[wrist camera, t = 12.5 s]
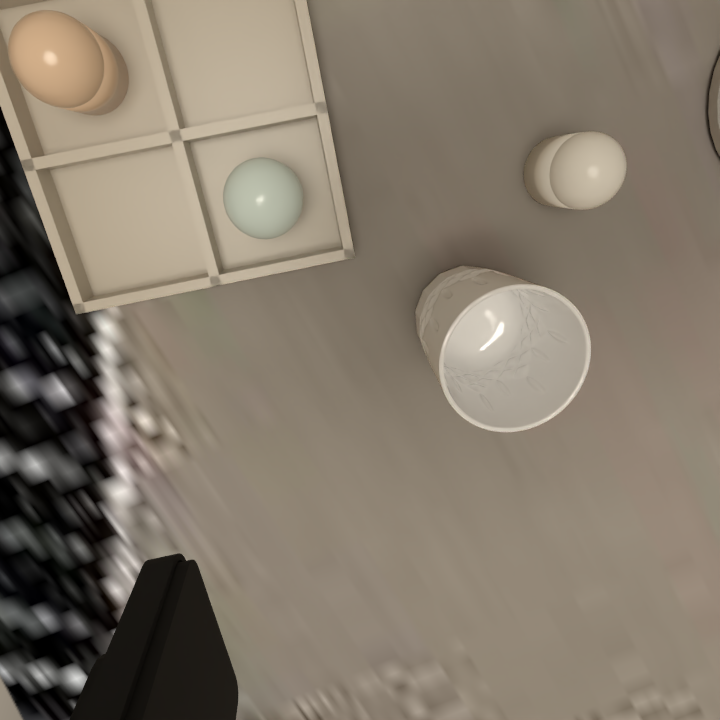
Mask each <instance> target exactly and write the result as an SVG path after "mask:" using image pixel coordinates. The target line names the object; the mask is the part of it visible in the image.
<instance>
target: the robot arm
mask: <svg viewBox="0 0 720 720" xmlns="http://www.w3.org/2000/svg"><path fill="white" fill-rule="evenodd" d="M708 115H709V123H710V131H711V135H712V138H713V141H714V145H715V148H716V150H717V152H718V154H719V156H720V56H719V59H718V61H717V64H716V67H715V69H714V73H713V78H712V82H711V87H710V91H709V108H708ZM237 706H238V685H237V680H236V676H235V673H234V670H233V667H232V664H231V661H230V658H229V655H228V652H227V650H226V647H225V644H224V641H223V638H222V635H221V632H220V629H219V626H218V623H217V620H216V617H215V614H214V612H213V609H212V606H211V603H210V600H209V597H208V594H207V591H206V588H205V585H204V582H203V579H202V576H201V574H200V571H199V568H198V565H197V563H196V562H195V560H188V561H186V560H185V558H184V556H183V555H182V554H180V553H179V554H174V555H169V556H165V557H160V558H155V559H151V560H147V561H146V562H145V563H144V564H143V566H142V569H141V571H140V573H139V576H138V578H137V580H136V583H135V585H134V588H133V590H132V592H131V595H130V597H129V600H128V602H127V604H126V607H125V609H124V612H123V614H122V616H121V619H120V621H119V623H118V626H117V628H116V631H115V633H114V635H113V638H112V640H111V643H110V645H109V647H108V650H107V652H106V654H103V655H102V656H101V657H99V658H98V659H97V660H96V662H95V664H94V666H93V667H92V669H91V672H90V674H89V676H88V678H87V681H86V683H85V685H84V688H83V690H82V692H81V695H80V697H79V699H78V701H77V704H76V706H75V708H74V711H73V713H72V715H71V718H70V720H236V713H237Z"/></svg>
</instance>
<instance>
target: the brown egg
mask: <svg viewBox="0 0 720 720" xmlns="http://www.w3.org/2000/svg"><path fill="white" fill-rule="evenodd" d="M8 56H9V61H10V64H11V67H12V70H13V72H14V74H15V76H16V77H17V79H18V80H19V82H20V83H21V85H22V86H23V87H24V88H25V89H26V90H27V91H28V92H29V93H30V94H31V95H33V96H34V97H36V98H37V99H38V100H40V101H42V102H44V103H46V104H49V105H51V106H54V107H58V108H62V109H66V110H70V111H74V112H78V113H82V114H86V115H92V116H98V115H104V114H107V113H110V112H112V111H113V110H115V109H116V108H117V107H118V106H119V105H120V104H121V103H122V102H123V100H124V98H125V96H126V94H127V90H128V85H129V75H128V69H127V66H126V63H125V60H124V58H123V56H122V55H121V53H120V52H119V50H118V49H117V48H116V47H115V46H114V45H113V44H112V43H111V42H110V41H109V40H107V39H106V38H105V37H103V36H101V35H100V34H98V33H97V32H95V31H94V30H92V29H91V28H89V27H88V26H86V25H85V24H83V23H82V22H80V21H78V20H77V19H75V18H74V17H72V16H69V15H67V14H65V13H62V12H59V11H53V10H39V11H35V12H32V13H29V14H27V15H25V16H24V17H22V18H21V19H20V20H19V21H18V22H17V23H16V24H15V26H14V27H13V29H12V31H11V34H10V36H9V41H8Z"/></svg>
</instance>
